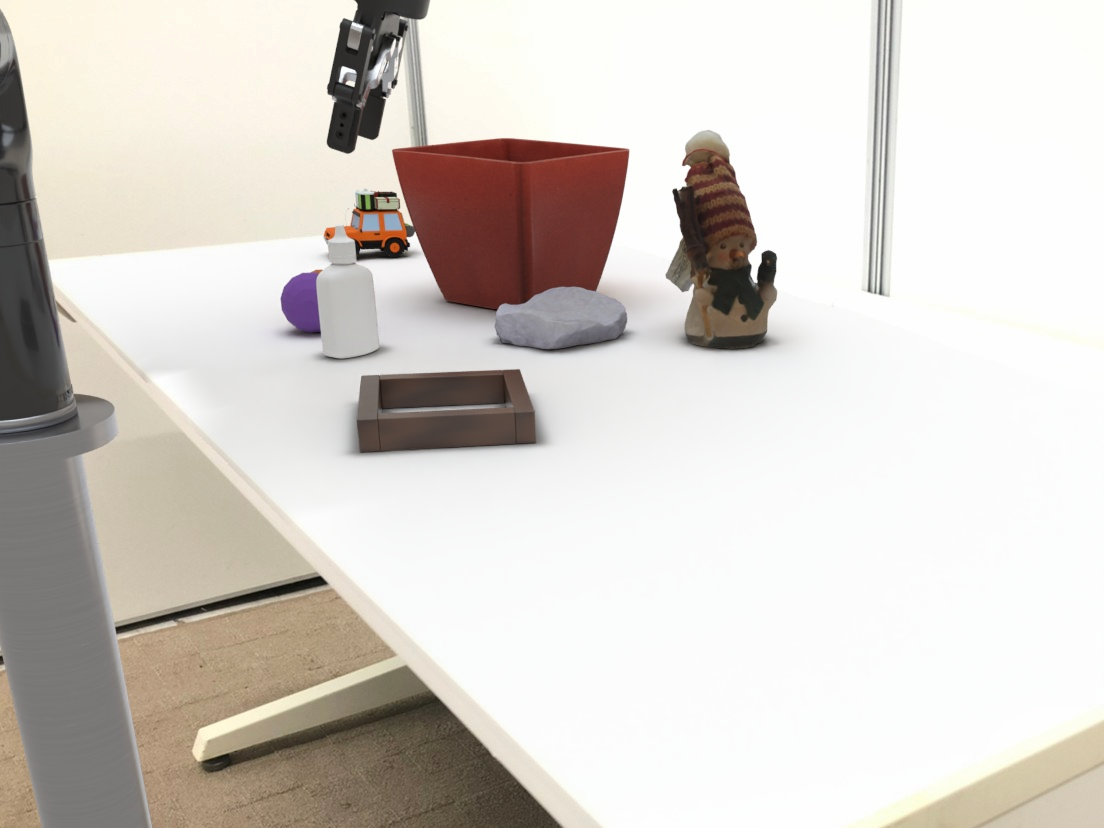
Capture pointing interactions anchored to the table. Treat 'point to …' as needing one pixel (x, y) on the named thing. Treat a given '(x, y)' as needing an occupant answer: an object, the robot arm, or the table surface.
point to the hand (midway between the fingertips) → (352, 143)
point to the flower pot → (512, 215)
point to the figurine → (719, 252)
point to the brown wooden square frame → (445, 424)
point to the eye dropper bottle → (346, 302)
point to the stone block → (561, 319)
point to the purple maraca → (302, 302)
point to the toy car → (377, 224)
